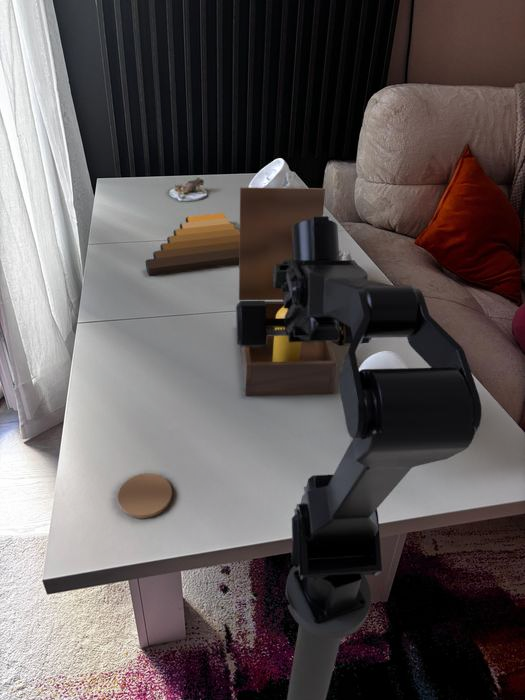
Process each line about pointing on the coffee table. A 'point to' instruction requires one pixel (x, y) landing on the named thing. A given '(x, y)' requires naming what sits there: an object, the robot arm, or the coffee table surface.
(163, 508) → the coaster
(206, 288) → the coffee table surface
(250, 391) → the chest
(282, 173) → the skull bowl
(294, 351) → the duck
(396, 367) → the mug
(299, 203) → the chest lid
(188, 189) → the frog figurine
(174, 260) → the pan flute
